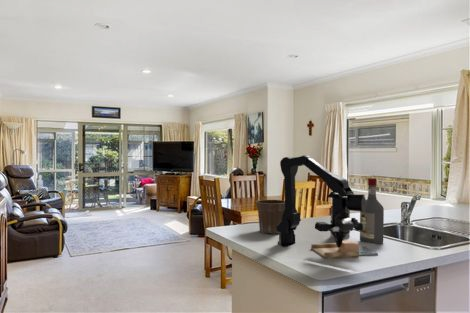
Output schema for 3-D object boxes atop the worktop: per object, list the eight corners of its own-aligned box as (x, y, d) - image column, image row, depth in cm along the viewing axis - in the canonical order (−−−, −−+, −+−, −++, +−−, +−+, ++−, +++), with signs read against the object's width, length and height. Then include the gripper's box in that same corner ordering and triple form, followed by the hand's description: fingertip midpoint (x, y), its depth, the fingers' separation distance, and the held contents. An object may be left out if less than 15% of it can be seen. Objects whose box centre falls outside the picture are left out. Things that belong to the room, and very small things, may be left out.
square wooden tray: (325, 261, 135) (325, 253, 135) (311, 251, 149) (311, 244, 149) (358, 259, 138) (358, 251, 138) (341, 249, 152) (342, 242, 151)
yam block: (344, 252, 141) (344, 244, 141) (338, 248, 147) (338, 240, 147) (358, 252, 142) (359, 244, 142) (352, 248, 148) (352, 240, 148)
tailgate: (355, 257, 139) (355, 254, 139) (342, 249, 150) (342, 247, 150) (377, 255, 141) (377, 253, 141) (363, 248, 152) (363, 245, 152)
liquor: (372, 239, 171) (372, 177, 170) (386, 243, 162) (387, 179, 162) (357, 240, 167) (357, 178, 167) (370, 245, 159) (371, 179, 159)
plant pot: (249, 231, 185) (249, 201, 185) (268, 227, 197) (269, 198, 197) (273, 237, 174) (273, 204, 174) (292, 232, 185) (292, 201, 185)
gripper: (325, 212, 134) (325, 253, 134) (371, 212, 137) (370, 251, 137) (314, 208, 145) (314, 246, 145) (356, 207, 148) (356, 244, 148)
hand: (338, 247), depth 144 cm, fingers closed
